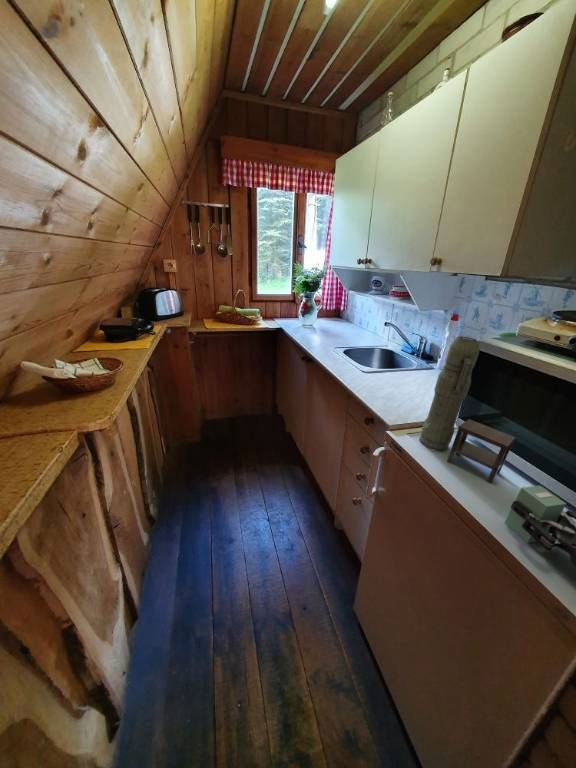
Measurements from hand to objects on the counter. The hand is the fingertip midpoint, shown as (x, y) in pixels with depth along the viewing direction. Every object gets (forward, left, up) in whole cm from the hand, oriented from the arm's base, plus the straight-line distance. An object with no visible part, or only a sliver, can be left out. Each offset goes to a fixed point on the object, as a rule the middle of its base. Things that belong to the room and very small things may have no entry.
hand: (525, 502), depth 68 cm
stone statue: (+27, -19, -6) cm, 33 cm away
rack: (+14, -16, -6) cm, 22 cm away
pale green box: (-2, +1, -6) cm, 6 cm away
